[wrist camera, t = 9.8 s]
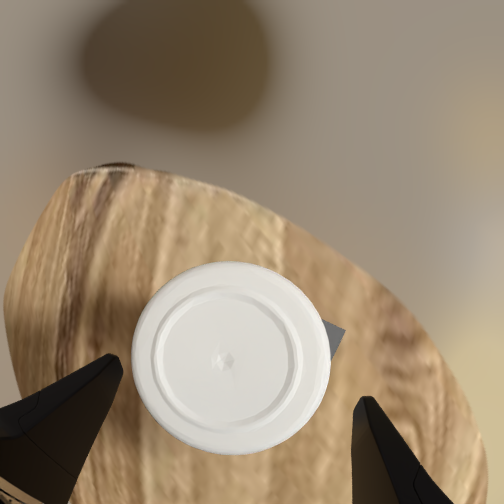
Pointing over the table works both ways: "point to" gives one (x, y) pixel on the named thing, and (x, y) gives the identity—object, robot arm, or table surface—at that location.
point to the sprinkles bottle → (230, 358)
